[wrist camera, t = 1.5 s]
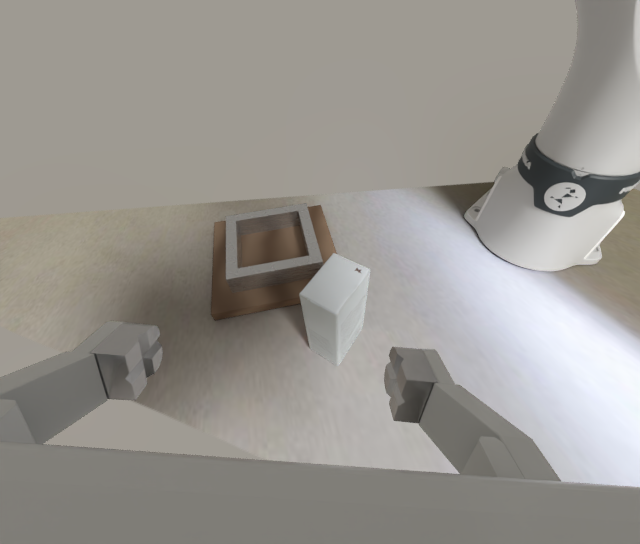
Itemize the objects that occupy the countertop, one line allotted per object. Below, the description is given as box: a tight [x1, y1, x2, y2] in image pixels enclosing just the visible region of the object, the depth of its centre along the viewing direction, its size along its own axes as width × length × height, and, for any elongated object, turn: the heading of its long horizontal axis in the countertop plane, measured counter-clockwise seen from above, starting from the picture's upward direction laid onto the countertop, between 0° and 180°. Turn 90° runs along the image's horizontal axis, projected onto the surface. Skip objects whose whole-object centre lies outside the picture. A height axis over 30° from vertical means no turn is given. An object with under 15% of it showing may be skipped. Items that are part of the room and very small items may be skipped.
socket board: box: [211, 203, 337, 320], centre depth 42 cm, size 18×18×4 cm
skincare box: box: [299, 253, 370, 366], centre depth 31 cm, size 6×4×12 cm
